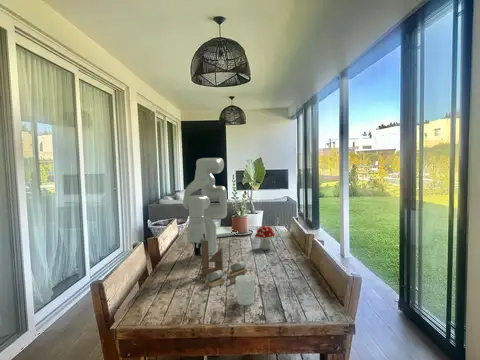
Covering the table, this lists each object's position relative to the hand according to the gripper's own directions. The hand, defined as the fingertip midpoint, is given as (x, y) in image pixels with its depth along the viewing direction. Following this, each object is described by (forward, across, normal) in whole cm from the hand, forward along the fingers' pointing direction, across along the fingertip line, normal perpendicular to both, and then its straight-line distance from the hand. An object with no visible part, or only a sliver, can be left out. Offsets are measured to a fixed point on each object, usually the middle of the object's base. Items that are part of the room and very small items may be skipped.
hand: (197, 254), depth 183 cm
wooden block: (+9, +10, +1) cm, 13 cm away
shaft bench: (+9, +22, +1) cm, 24 cm away
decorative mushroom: (+8, +2, +60) cm, 60 cm away
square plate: (+7, -56, +76) cm, 94 cm away
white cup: (+10, +44, -17) cm, 49 cm away
